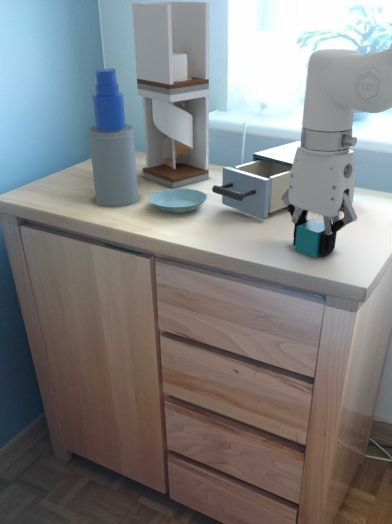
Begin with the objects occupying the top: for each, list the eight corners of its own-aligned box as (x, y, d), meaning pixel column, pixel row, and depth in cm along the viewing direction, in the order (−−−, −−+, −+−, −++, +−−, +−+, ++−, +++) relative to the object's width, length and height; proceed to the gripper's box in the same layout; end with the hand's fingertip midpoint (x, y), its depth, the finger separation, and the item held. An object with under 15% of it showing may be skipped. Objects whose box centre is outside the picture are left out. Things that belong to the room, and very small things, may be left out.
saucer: (137, 209, 114) (136, 198, 113) (176, 194, 121) (176, 184, 120) (180, 222, 107) (179, 211, 106) (218, 206, 115) (219, 195, 113)
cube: (330, 250, 96) (334, 226, 94) (315, 257, 94) (317, 233, 91) (310, 243, 99) (313, 219, 96) (294, 250, 96) (296, 225, 94)
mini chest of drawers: (297, 212, 112) (301, 165, 107) (251, 196, 119) (253, 153, 114) (340, 195, 120) (346, 151, 115) (294, 182, 128) (298, 141, 122)
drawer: (246, 225, 104) (247, 186, 100) (204, 209, 111) (204, 172, 107) (308, 202, 114) (312, 165, 110) (266, 189, 121) (268, 154, 117)
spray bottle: (125, 189, 124) (115, 64, 110) (145, 200, 118) (137, 69, 104) (89, 197, 120) (73, 68, 106) (107, 209, 114) (94, 74, 100)
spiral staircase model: (143, 176, 132) (132, 3, 113) (177, 168, 138) (173, 1, 118) (173, 188, 125) (167, 4, 105) (208, 178, 131) (208, 2, 111)
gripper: (387, 144, 83) (367, 257, 93) (297, 126, 93) (288, 229, 103) (358, 154, 79) (340, 271, 89) (267, 134, 89) (261, 240, 99)
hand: (312, 248), depth 96 cm, fingers open, 4 cm apart
